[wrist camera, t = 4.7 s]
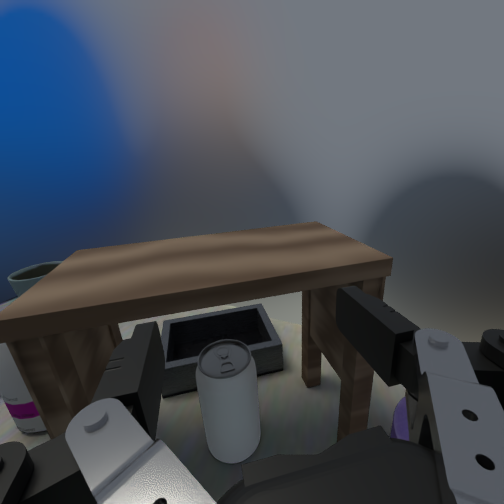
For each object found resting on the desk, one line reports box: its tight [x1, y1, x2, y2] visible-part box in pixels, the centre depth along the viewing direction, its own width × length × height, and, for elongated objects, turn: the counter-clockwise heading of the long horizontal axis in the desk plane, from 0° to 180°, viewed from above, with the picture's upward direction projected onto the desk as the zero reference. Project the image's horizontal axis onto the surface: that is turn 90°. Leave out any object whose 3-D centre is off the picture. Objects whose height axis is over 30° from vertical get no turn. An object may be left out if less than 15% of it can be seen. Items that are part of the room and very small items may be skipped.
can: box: [196, 339, 261, 463], centre depth 29 cm, size 6×6×12 cm
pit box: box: [161, 304, 283, 398], centre depth 43 cm, size 12×18×5 cm, turn 103°
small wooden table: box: [0, 222, 393, 442], centre depth 27 cm, size 13×26×24 cm, turn 103°
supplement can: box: [0, 343, 47, 433], centre depth 34 cm, size 8×8×15 cm
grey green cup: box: [8, 261, 63, 298], centre depth 57 cm, size 10×10×12 cm
